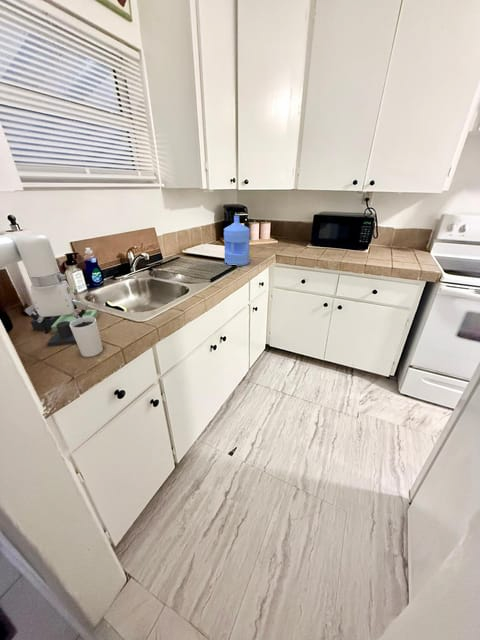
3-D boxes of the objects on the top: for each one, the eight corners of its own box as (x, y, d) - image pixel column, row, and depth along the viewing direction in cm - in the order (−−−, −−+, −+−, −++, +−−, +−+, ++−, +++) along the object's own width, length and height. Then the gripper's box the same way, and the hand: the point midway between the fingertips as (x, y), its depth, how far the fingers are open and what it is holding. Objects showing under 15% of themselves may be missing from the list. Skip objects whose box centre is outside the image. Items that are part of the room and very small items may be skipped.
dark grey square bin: (34, 330, 90) (30, 321, 88) (42, 321, 95) (39, 313, 94) (55, 328, 91) (51, 319, 89) (62, 319, 96) (59, 311, 95)
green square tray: (52, 332, 88) (50, 327, 87) (65, 317, 98) (63, 312, 97) (89, 329, 90) (88, 323, 89) (98, 314, 100) (97, 309, 99)
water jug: (230, 258, 173) (230, 213, 160) (252, 261, 168) (254, 215, 155) (220, 264, 161) (218, 216, 147) (243, 267, 155) (244, 217, 142)
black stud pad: (48, 346, 81) (42, 331, 79) (59, 332, 88) (53, 319, 86) (77, 343, 82) (72, 328, 80) (85, 330, 90) (81, 316, 87)
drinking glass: (75, 352, 78) (64, 323, 73) (96, 342, 83) (88, 314, 78) (87, 360, 74) (76, 330, 70) (108, 349, 79) (100, 320, 75)
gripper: (82, 273, 81) (97, 321, 89) (20, 277, 78) (40, 327, 86) (74, 281, 74) (91, 332, 82) (5, 286, 71) (29, 339, 79)
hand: (65, 330), depth 84 cm, fingers open, 9 cm apart
